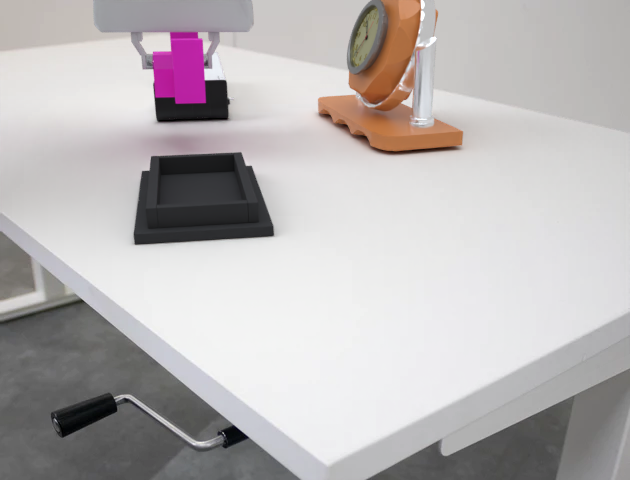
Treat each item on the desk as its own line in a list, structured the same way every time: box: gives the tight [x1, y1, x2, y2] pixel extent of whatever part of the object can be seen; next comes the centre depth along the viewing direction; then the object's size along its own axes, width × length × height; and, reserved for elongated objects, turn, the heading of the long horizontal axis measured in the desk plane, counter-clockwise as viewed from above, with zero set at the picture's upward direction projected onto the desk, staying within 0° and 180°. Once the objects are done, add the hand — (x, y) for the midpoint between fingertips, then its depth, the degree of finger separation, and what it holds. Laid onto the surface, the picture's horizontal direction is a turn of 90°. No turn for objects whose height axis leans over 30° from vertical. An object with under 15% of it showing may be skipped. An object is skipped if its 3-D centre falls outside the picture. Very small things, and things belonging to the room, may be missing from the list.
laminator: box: [152, 51, 235, 122], centre depth 132 cm, size 34×12×6 cm, turn 9°
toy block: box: [152, 32, 206, 104], centre depth 100 cm, size 15×6×8 cm, turn 11°
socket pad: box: [133, 151, 275, 245], centre depth 80 cm, size 13×22×3 cm, turn 10°
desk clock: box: [317, 0, 464, 153], centre depth 109 cm, size 12×30×20 cm, turn 18°
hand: (178, 68), depth 100 cm, fingers closed on toy block, 6 cm apart
